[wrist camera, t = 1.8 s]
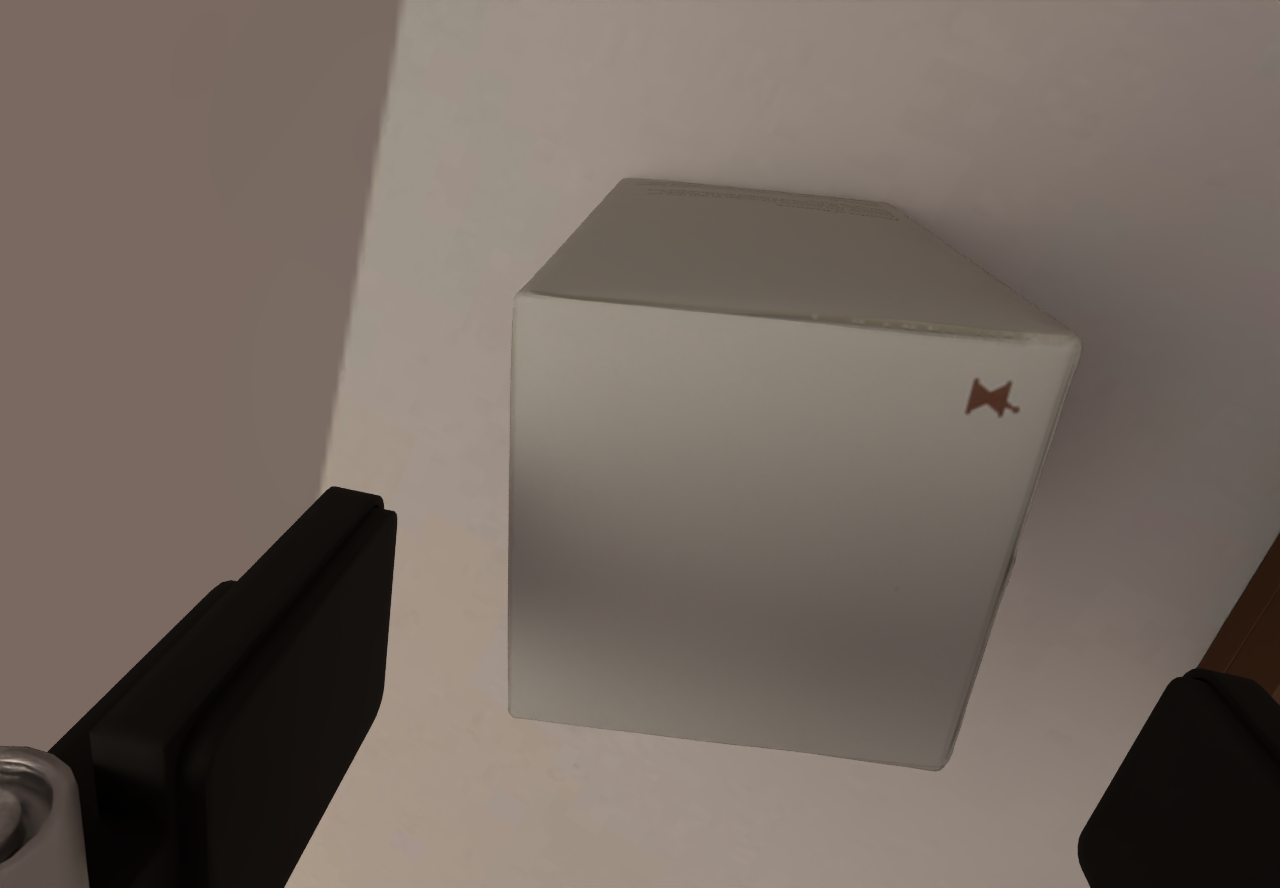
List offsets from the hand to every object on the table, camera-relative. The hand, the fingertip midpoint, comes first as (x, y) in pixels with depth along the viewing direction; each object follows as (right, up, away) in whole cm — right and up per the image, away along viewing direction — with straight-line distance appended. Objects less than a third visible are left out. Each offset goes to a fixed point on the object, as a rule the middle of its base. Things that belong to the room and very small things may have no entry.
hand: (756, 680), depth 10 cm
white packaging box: (+1, +6, +13) cm, 15 cm away
